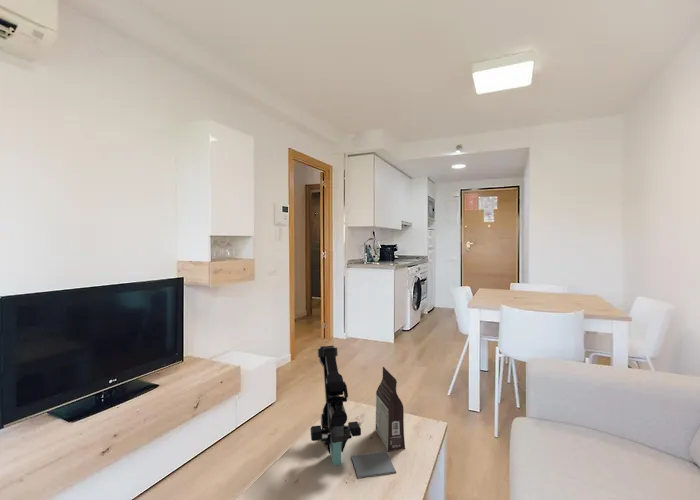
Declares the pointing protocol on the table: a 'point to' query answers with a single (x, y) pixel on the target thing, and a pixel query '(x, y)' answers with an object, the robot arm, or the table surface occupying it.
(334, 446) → the slab
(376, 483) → the table surface
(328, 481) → the table surface
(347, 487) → the table surface
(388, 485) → the table surface
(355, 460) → the mat
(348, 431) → the robot arm
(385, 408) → the protein powder
